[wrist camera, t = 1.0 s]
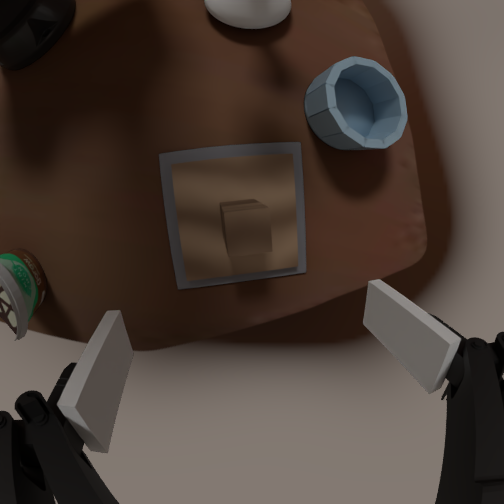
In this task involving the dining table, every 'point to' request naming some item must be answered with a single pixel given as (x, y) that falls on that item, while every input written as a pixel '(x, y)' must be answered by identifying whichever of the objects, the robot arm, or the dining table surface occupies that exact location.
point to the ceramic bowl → (356, 106)
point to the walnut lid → (236, 215)
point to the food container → (20, 289)
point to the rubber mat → (227, 152)
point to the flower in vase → (249, 12)
